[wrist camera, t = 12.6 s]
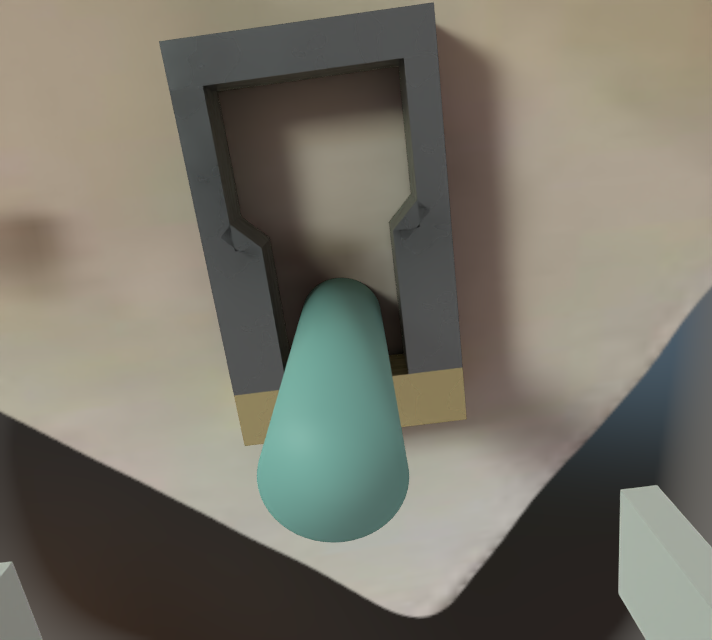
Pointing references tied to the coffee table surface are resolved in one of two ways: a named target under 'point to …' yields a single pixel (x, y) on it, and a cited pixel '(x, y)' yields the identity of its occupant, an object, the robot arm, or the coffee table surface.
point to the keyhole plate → (253, 248)
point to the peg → (335, 422)
